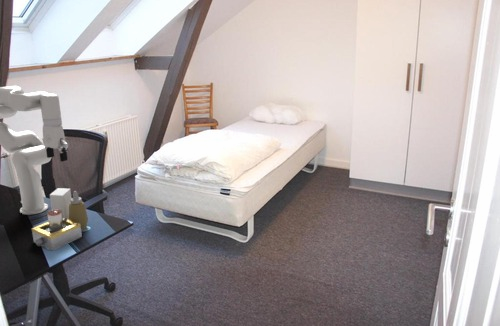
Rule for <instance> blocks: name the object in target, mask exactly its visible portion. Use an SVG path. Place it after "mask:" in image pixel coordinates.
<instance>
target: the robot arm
mask: <svg viewBox="0 0 500 326" xmlns="http://www.w3.org/2000/svg"><path fill="white" fill-rule="evenodd" d="M38 110H41V111H40V112H41V118H42V124H43V125H42V139H41V138H40V137H38V135H37V133H35V132H33V131H31V130H23V131H14V130H13V129H12V128H11V127H10V125H8V124H6V123H5V122H3V121H0V146H1V147H2V148H3V149H4V150H5V151H6V152H7V153H9V154H12V157H11V160H12V163H13V167H14V169H15V172H16V176H17V180H18V181H17V182H18V188H19V194H20V199H21V200H20V203H21V204H22V205H21V206H22V207H20V209H19V213H20V214H21V213H22V215H25V216H26V215H27V216H31V215H38V214H41V213H45V211H48V209H49V204H47V203H45V202H44V201H45V199H44V194H43V186H42V181H41V180H42V179H41V175H40V173H39V172H38V171H37V170H36V169H35V167H38V166H42V165H44V164H47V163H49V162H50V161H51V159H52V158H53V157H55V153H54V149H55V150H57V149H58V151H59V159H60V162H61V163H62V162H65V161H68V159H69V158H68V150H69V143H68V142H67V141H66V137H65V132H64V128H63V122H62V114H61V113H62V112H61V106H60V99H59V95H58V94H55V93H50V92H49V93H48V92H46V91H36V92H28V93H25V92H24V90H23V89H22V88H21V87H20V86H17V85H9V86H8V85H7V86H0V120H2V119H7V118H12V117H14V116H16V114H17V113H18V112H32V111H38Z"/></svg>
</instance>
